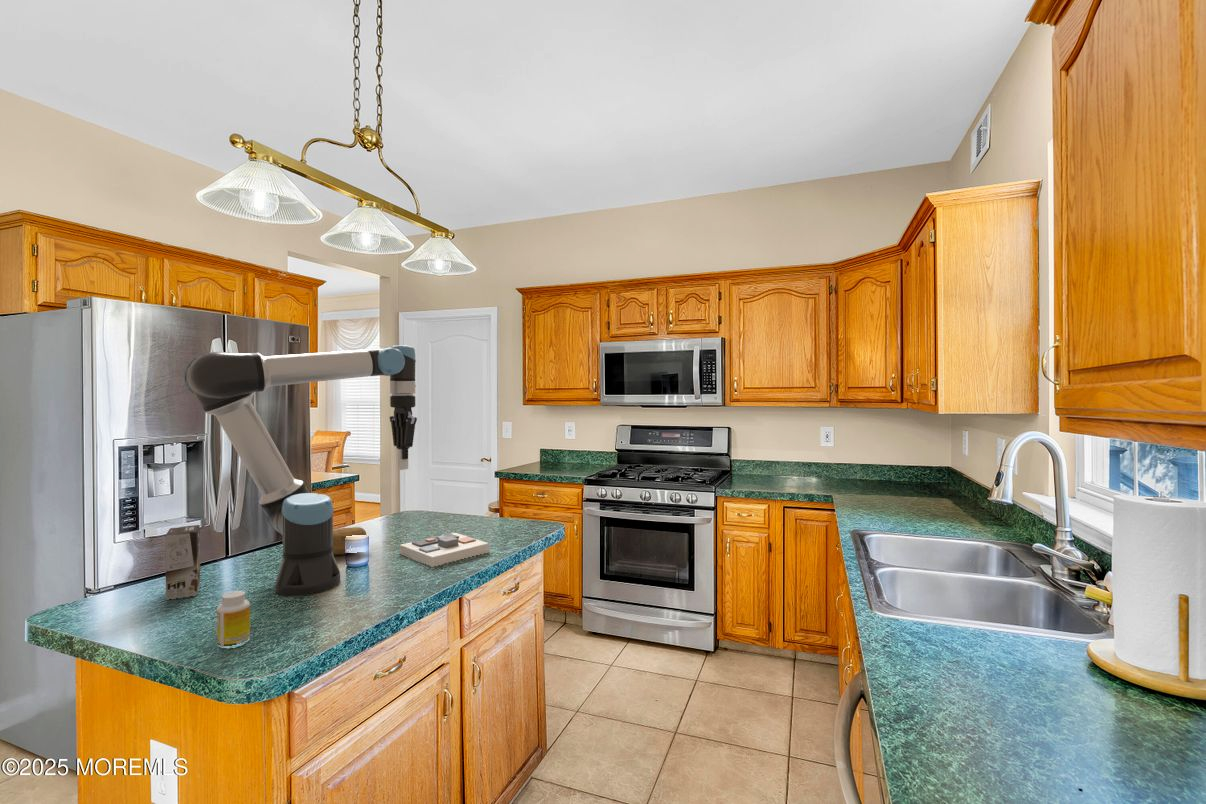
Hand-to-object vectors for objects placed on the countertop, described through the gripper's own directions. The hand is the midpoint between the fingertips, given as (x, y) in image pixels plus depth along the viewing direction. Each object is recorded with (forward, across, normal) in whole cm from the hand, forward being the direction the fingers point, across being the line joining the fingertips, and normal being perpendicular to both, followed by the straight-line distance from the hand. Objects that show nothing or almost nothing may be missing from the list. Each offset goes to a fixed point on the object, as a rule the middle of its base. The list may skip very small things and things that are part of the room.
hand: (403, 469), depth 174 cm
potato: (+27, +12, +14) cm, 32 cm away
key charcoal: (+24, -13, -8) cm, 29 cm away
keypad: (+26, -11, -8) cm, 30 cm away
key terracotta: (+26, -13, -15) cm, 32 cm away
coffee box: (+27, +8, +55) cm, 62 cm away
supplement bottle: (+27, -34, +55) cm, 70 cm away
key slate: (+26, -13, -1) cm, 29 cm away
